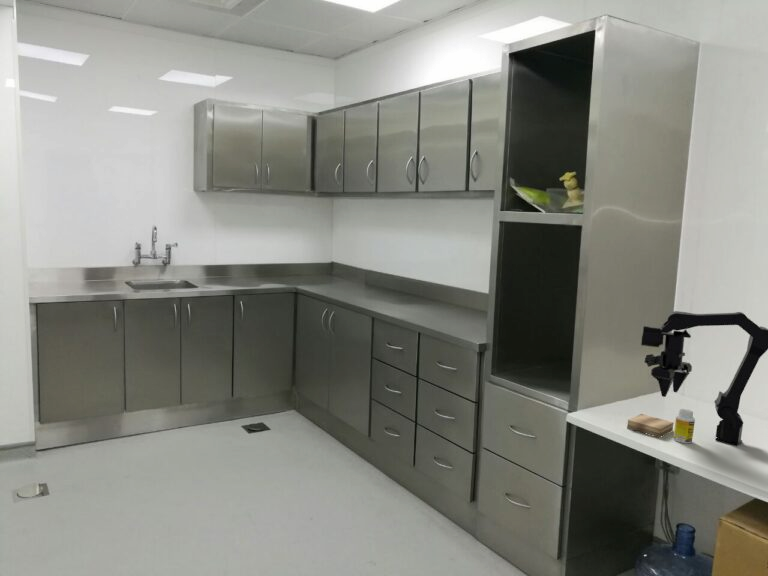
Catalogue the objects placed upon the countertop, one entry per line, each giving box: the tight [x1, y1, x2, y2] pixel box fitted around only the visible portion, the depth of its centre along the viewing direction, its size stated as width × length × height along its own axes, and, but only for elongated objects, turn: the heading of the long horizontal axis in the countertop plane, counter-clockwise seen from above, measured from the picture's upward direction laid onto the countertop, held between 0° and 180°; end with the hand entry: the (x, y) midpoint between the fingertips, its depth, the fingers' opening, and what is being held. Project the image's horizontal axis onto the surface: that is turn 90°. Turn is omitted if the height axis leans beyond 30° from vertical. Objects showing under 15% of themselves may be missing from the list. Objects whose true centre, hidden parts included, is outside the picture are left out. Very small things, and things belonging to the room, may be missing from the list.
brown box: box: [626, 413, 675, 438], centre depth 215 cm, size 11×11×3 cm
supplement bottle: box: [673, 408, 696, 444], centre depth 205 cm, size 6×6×10 cm
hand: (669, 394), depth 213 cm, fingers open, 9 cm apart
